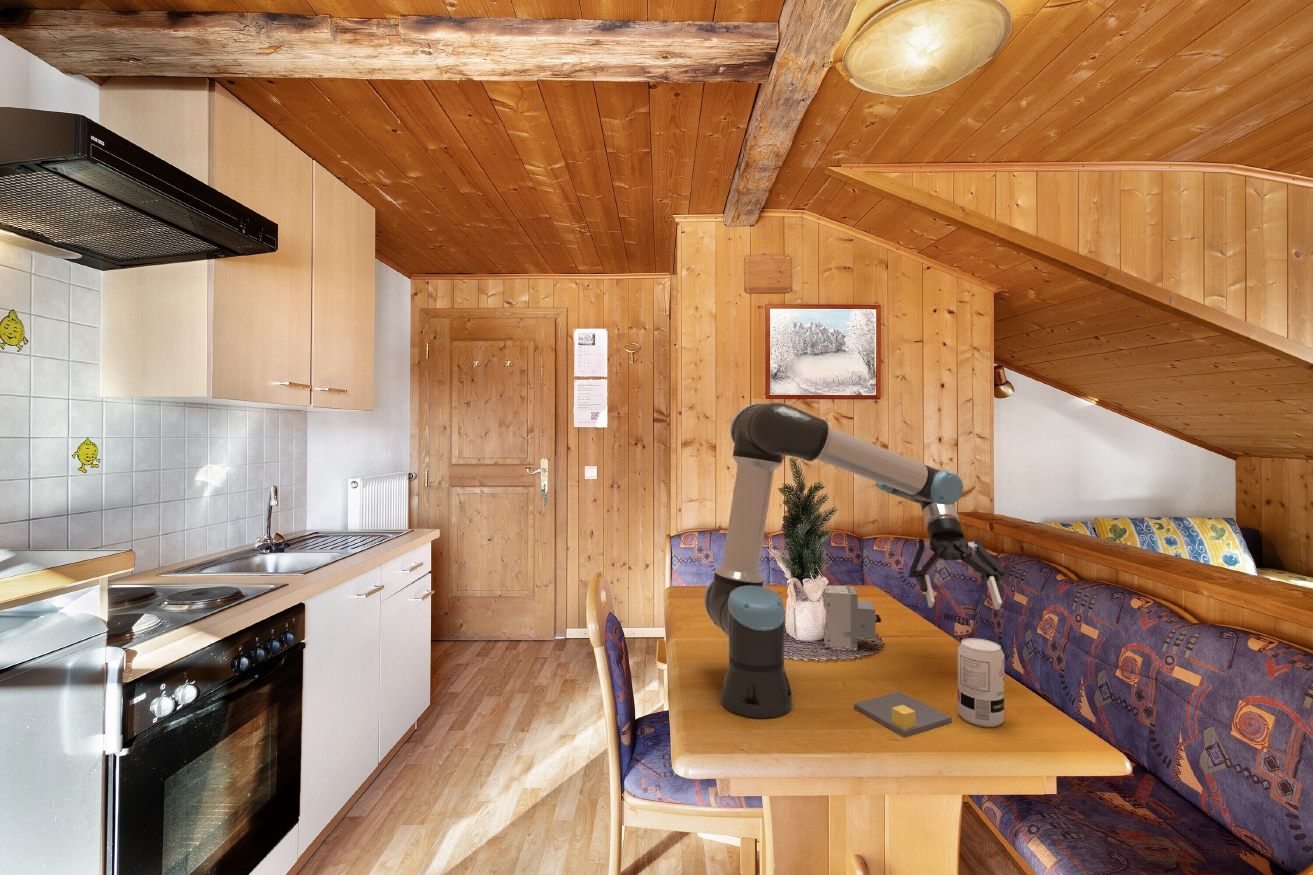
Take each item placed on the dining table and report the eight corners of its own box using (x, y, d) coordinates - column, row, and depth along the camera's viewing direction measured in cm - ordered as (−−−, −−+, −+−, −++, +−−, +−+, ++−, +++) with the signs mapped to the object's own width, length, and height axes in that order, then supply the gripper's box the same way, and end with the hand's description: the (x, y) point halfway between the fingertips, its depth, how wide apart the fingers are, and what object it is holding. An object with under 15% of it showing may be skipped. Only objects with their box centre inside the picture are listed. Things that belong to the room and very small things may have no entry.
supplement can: (950, 708, 125) (950, 637, 125) (990, 709, 125) (991, 637, 125) (969, 728, 117) (969, 651, 117) (1012, 728, 117) (1013, 651, 116)
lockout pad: (904, 736, 114) (904, 716, 114) (854, 708, 126) (854, 689, 125) (951, 722, 119) (951, 702, 119) (899, 695, 131) (899, 677, 131)
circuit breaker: (882, 652, 156) (882, 595, 156) (825, 649, 159) (825, 592, 159) (877, 642, 164) (877, 587, 163) (823, 639, 166) (823, 585, 166)
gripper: (994, 534, 146) (1021, 615, 132) (886, 533, 150) (901, 611, 136) (1003, 516, 141) (1032, 598, 127) (891, 515, 145) (907, 594, 131)
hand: (964, 605), depth 131 cm, fingers open, 13 cm apart
